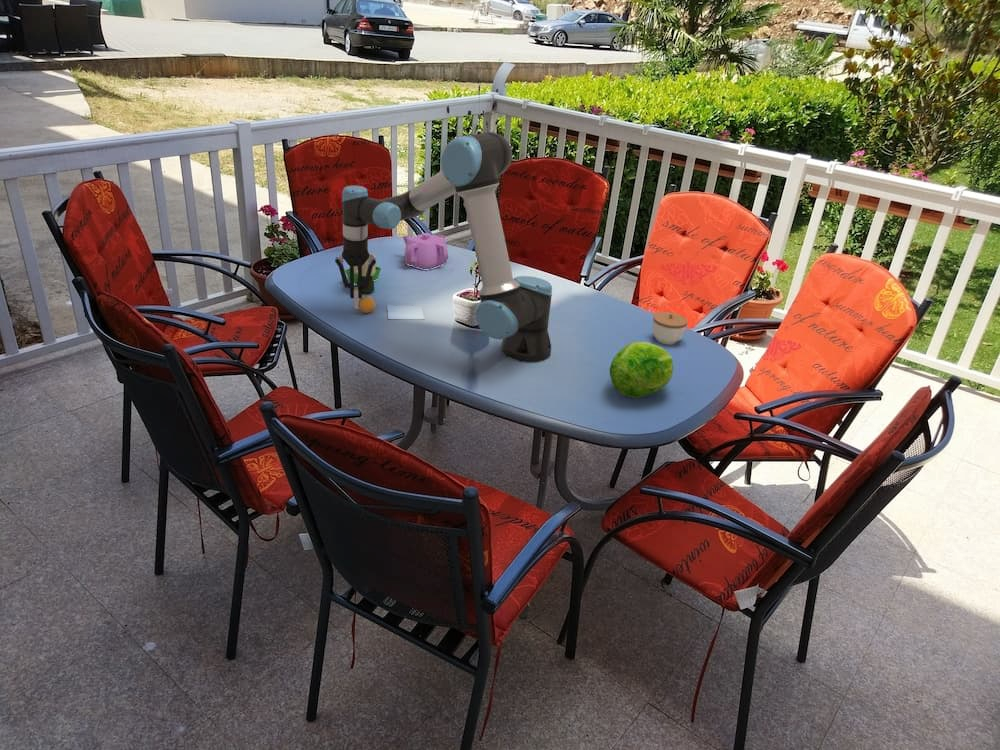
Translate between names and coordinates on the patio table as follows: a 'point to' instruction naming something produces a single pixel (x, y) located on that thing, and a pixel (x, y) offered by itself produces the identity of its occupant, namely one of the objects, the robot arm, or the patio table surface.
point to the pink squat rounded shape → (425, 250)
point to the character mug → (364, 271)
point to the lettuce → (641, 369)
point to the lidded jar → (668, 327)
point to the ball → (366, 304)
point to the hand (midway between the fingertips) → (356, 307)
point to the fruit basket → (357, 275)
